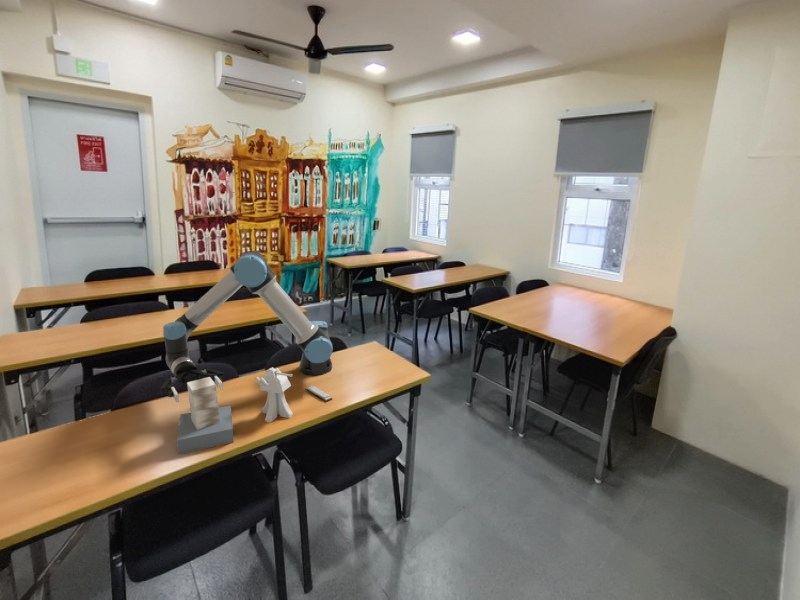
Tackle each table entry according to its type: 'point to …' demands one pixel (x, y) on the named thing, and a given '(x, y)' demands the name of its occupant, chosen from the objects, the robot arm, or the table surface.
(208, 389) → the tall block
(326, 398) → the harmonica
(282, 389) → the white mech figurine
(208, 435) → the slate plinth
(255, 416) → the table surface
